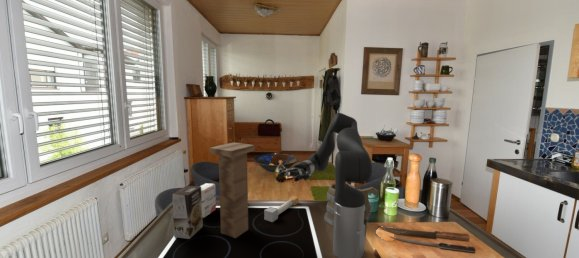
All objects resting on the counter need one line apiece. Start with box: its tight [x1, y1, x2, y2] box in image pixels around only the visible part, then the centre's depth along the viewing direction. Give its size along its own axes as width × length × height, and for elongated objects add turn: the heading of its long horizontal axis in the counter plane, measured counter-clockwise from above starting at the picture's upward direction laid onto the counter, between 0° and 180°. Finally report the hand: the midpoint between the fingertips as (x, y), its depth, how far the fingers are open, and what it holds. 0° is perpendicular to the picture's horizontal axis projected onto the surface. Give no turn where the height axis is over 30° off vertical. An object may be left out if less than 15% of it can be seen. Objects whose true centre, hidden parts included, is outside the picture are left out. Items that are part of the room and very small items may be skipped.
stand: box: [209, 142, 256, 239], centre depth 96 cm, size 10×12×32 cm
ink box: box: [199, 182, 217, 219], centre depth 112 cm, size 8×5×12 cm, turn 160°
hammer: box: [263, 195, 299, 223], centre depth 115 cm, size 22×4×4 cm, turn 149°
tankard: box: [323, 182, 379, 227], centre depth 105 cm, size 20×13×15 cm, turn 73°
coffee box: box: [171, 185, 204, 240], centre depth 97 cm, size 9×6×16 cm
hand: (286, 177), depth 116 cm, fingers open, 8 cm apart
